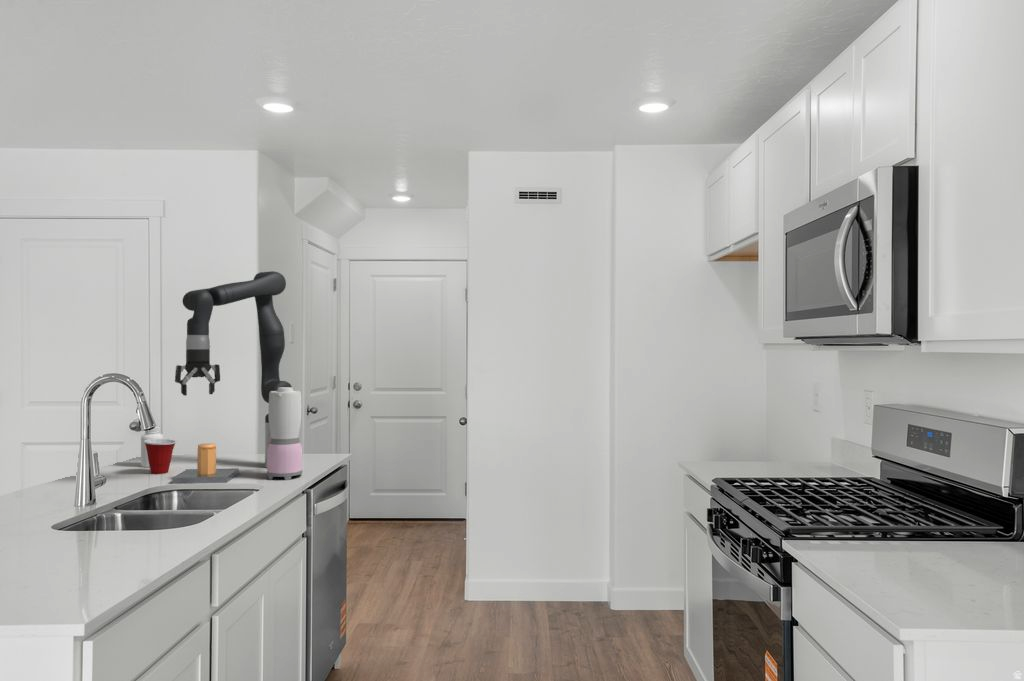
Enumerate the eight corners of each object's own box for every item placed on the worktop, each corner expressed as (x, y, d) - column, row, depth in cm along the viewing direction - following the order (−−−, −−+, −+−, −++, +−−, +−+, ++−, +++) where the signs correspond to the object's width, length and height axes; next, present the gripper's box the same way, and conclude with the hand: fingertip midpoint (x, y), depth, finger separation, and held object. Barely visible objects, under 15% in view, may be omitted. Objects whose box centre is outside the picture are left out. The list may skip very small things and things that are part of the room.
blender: (294, 480, 249) (294, 389, 249) (260, 479, 250) (261, 388, 250) (311, 472, 265) (311, 386, 265) (279, 471, 266) (280, 385, 266)
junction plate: (187, 474, 259) (187, 458, 259) (238, 473, 261) (239, 457, 261) (172, 483, 243) (172, 466, 243) (227, 482, 245) (227, 465, 245)
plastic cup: (167, 475, 257) (167, 442, 257) (137, 475, 257) (137, 442, 257) (182, 470, 268) (182, 438, 268) (153, 469, 268) (153, 437, 268)
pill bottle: (141, 464, 278) (141, 426, 278) (164, 463, 282) (164, 425, 281) (140, 468, 271) (140, 428, 271) (163, 466, 274) (164, 427, 274)
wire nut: (200, 471, 254) (200, 443, 254) (217, 471, 255) (217, 443, 255) (195, 474, 249) (195, 446, 249) (212, 474, 249) (213, 445, 249)
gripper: (216, 347, 255) (216, 393, 255) (173, 348, 246) (173, 395, 246) (222, 348, 249) (222, 394, 249) (178, 348, 240) (178, 396, 240)
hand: (197, 394), depth 248 cm, fingers open, 8 cm apart
